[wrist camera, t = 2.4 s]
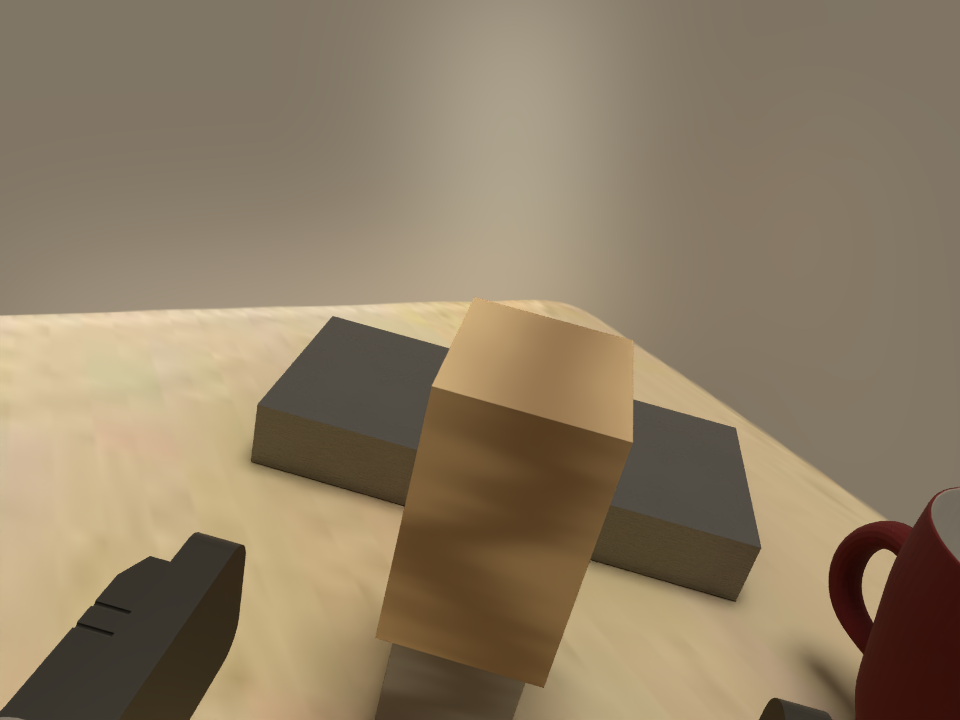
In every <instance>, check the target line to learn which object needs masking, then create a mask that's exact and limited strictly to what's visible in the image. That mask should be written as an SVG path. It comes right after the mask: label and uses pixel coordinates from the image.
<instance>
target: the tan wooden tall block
mask: <svg viewBox="0 0 960 720" xmlns="http://www.w3.org/2000/svg"><path fill="white" fill-rule="evenodd" d="M633 355H634V341H633V340H629V339H625V338H622V337H618V336H614V335H611V334H607V333H603V332H600V331H596V330H592V329H589V328H585V327H581V326H578V325H574V324H571V323H567V322H563V321H560V320H556V319H552V318H549V317H545V316H541V315H538V314H534V313H530V312H527V311H523V310H519V309H516V308H512V307H509V306H505V305H501V304H498V303H494V302H490V301H487V300H483V299H479V298H475V297H474V299H473V301H472V303H471V305H470V307H469V309H468V311H467V314H466V316H465V318H464V320H463V322H462V324H461V326H460V328H459V330H458V332H457V334H456V336H455V339H454V341H453V343H452V345H451V347H450V349H449V351H448V353H447V355H446V357H445V359H444V361H443V364H442V366H441V368H440V370H439V372H438V374H437V376H436V378H435V380H434V382H433V384H432V387H431V391H430V396H429V400H428V405H427V409H426V414H425V418H424V423H423V427H422V432H421V436H420V441H419V445H418V450H417V454H416V459H415V463H414V468H413V472H412V476H411V481H410V485H409V490H408V494H407V499H406V503H405V508H404V512H403V517H402V521H401V526H400V530H399V535H398V539H397V544H396V548H395V552H394V557H393V561H392V566H391V570H390V575H389V579H388V584H387V588H386V593H385V597H384V602H383V606H382V611H381V615H380V620H379V624H378V628H377V633H376V637H375V638H378V639H381V640H385V641H388V642H391V643H393V645H392V649H391V653H390V657H389V662H388V666H387V670H386V674H385V678H384V683H383V687H382V691H381V695H380V699H379V704H378V708H377V712H376V716H375V720H512V719H513V716H514V713H515V710H516V707H517V704H518V701H519V699H520V696H521V693H522V690H523V687H524V684H525V682H526V683H529V684H532V685H536V686H539V687H542V688H544V685H545V682H546V680H547V677H548V674H549V671H550V669H551V666H552V663H553V660H554V658H555V655H556V652H557V649H558V647H559V644H560V641H561V638H562V636H563V633H564V630H565V627H566V625H567V622H568V619H569V617H570V614H571V611H572V608H573V606H574V603H575V600H576V597H577V595H578V592H579V589H580V586H581V584H582V581H583V578H584V575H585V573H586V570H587V567H588V564H589V562H590V559H591V556H592V553H593V551H594V548H595V545H596V542H597V540H598V537H599V534H600V531H601V529H602V526H603V523H604V520H605V518H606V515H607V512H608V509H609V507H610V504H611V501H612V498H613V496H614V493H615V490H616V487H617V485H618V482H619V479H620V476H621V474H622V471H623V468H624V465H625V463H626V460H627V457H628V454H629V452H630V449H631V446H632V443H633Z"/></svg>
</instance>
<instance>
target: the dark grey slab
mask: <svg viewBox="0 0 960 720" xmlns="http://www.w3.org/2000/svg"><path fill="white" fill-rule="evenodd" d="M448 351H449V348H446V347H442V346H439V345H435V344H431V343H428V342H424V341H421V340H417V339H413V338H410V337H406V336H403V335H399V334H395V333H392V332H388V331H385V330H381V329H377V328H374V327H370V326H367V325H363V324H359V323H356V322H352V321H349V320H345V319H341V318H338V317H334V316H332V318H331V319H330V320H329V321H328V322H327V323H326V325H325V326H324V327H323V328H322V329H321V331H320V332H319V333H318V334H317V335H316V336H315V338H314V339H313V340H312V341H311V342H310V343H309V345H308V346H307V347H306V348H305V349H304V350H303V352H302V353H301V354H300V355H299V356H298V358H297V359H296V360H295V361H294V362H293V363H292V365H291V366H290V367H289V368H288V369H287V370H286V372H285V373H284V374H283V375H282V376H281V377H280V379H279V380H278V381H277V382H276V383H275V385H274V386H273V387H272V388H271V389H270V390H269V392H268V393H267V394H266V395H265V396H264V397H263V399H262V400H261V401H260V402H259V403H258V405H257V414H256V422H255V431H254V440H253V449H252V457H251V461H252V462H255V463H259V464H262V465H266V466H269V467H273V468H276V469H280V470H283V471H286V472H290V473H293V474H297V475H300V476H304V477H307V478H311V479H314V480H318V481H321V482H325V483H328V484H331V485H335V486H338V487H342V488H345V489H349V490H352V491H356V492H359V493H363V494H366V495H370V496H373V497H377V498H380V499H383V500H387V501H390V502H394V503H397V504H401V505H404V506H405V503H406V499H407V494H408V490H409V485H410V481H411V476H412V472H413V468H414V463H415V459H416V454H417V450H418V445H419V441H420V436H421V432H422V427H423V423H424V418H425V414H426V409H427V405H428V400H429V396H430V391H431V387H432V384H433V382H434V380H435V378H436V376H437V374H438V372H439V370H440V368H441V366H442V364H443V361H444V359H445V357H446V355H447V353H448ZM760 549H761V544H760V540H759V535H758V530H757V526H756V521H755V516H754V511H753V507H752V502H751V497H750V493H749V488H748V483H747V478H746V474H745V469H744V464H743V460H742V455H741V450H740V445H739V441H738V436H737V431H736V428H734V427H730V426H727V425H723V424H719V423H716V422H712V421H709V420H705V419H701V418H698V417H694V416H691V415H687V414H683V413H680V412H676V411H673V410H669V409H665V408H662V407H658V406H655V405H651V404H647V403H644V402H640V401H637V400H633V443H632V446H631V449H630V452H629V454H628V457H627V460H626V463H625V465H624V468H623V471H622V474H621V476H620V479H619V482H618V485H617V487H616V490H615V493H614V496H613V498H612V501H611V504H610V507H609V509H608V512H607V515H606V518H605V520H604V523H603V526H602V529H601V531H600V534H599V537H598V540H597V542H596V545H595V548H594V551H593V553H592V556H591V560H595V561H598V562H602V563H605V564H609V565H612V566H616V567H619V568H622V569H626V570H629V571H633V572H636V573H640V574H643V575H647V576H650V577H654V578H657V579H661V580H664V581H668V582H671V583H674V584H678V585H681V586H685V587H688V588H692V589H695V590H699V591H702V592H706V593H709V594H713V595H716V596H719V597H723V598H726V599H730V600H733V601H736V599H737V597H738V595H739V593H740V591H741V589H742V587H743V585H744V583H745V581H746V579H747V576H748V574H749V572H750V570H751V568H752V566H753V564H754V562H755V560H756V558H757V556H758V554H759V552H760Z"/></svg>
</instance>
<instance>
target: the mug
mask: <svg viewBox="0 0 960 720" xmlns="http://www.w3.org/2000/svg"><path fill="white" fill-rule="evenodd" d="M881 549H887V550H890V551H891V552H893V553H894V554H895V555H896V556H897V557H896V559H895V562H894V564H893V566H892V569H891V571H890V574H889V576H888V579H887V582H886V585H885V588H884V591H883V595H882V598H881V601H880V604H879V607H878V611H877V614H876V617H875V620H874V623H873V622H872V620H871V618H870V616H869V614H868V612H867V609H866V607H865V604H864V600H863V595H862V577H863V573H864V569H865V567H866V564H867V563H868V561H869V559H870V558H871V556H872V555H873V554H874V553H876V552H877V551H879V550H881ZM829 593H830V599H831V602H832V606H833V608H834V611H835V613H836V616H837V618H838V619H839V621H840V623H841V625H842V626H843V628H844V629H845V631H846V632H847V634H848V635H849V637H850V638H851V639H852V641H853V642H854V643H855V645H856V646H857V647H858V648H859V650H860V651H861V652H862V653H863V654H864V655H863V658H862V661H861V664H860V668H859V672H858V676H857V681H856V689H855V711H856V720H960V487H956V488H949V489H946V490H943V491H941V492H939V493H937V494H936V495H935V496H934V497H933V498H932V499H931V501H930V502H929V503H928V505H927V506H926V508H925V509H924V511H923V513H922V514H921V516H920V517H919V519H918V521H917V522H916V524H915V525H914V527H913V528H912V527H910V526H908V525H906V524H904V523H900V522H896V521H879V522H874V523H870V524H866V525H864V526H862V527H859V528H857V529H856V530H854V531H853V532H852V533H850V534H849V535H848V536H847V537H846V538H845V539H844V540H843V541H842V542H841V544H840V545H839V546H838V548H837V550H836V552H835V554H834V556H833V559H832V562H831V565H830V571H829Z"/></svg>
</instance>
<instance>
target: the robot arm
mask: <svg viewBox="0 0 960 720" xmlns="http://www.w3.org/2000/svg"><path fill="white" fill-rule="evenodd" d="M245 556H246V550H245V546H244V545H241V544H238V543H234V542H231V541H227V540H224V539H220V538H217V537H213V536H209V535H206V534H202V533H199V532H196V533H194V534H193V535H192V536H191V537H190V538H189V539H188V540H187V541H186V543H185V544H184V545H183V546H182V548H181V549H180V550H179V552H178V553H177V554H176V555H175V557H174V558H173V559H172V560H171V562H169V561H166V560H162V559H159V558H155V557H152V556H149V557H148V558H146V559H144V560H142V561H141V562H139V563H137V564H135V565H134V566H132V567H130V568H128V569H127V570H125V571H123V572H122V573H120V574H118V575H117V576H116V577H115V578H114V580H113V581H112V582H111V583H110V584H109V585H108V587H107V588H106V589H105V590H104V591H103V592H102V594H101V595H100V596H99V597H98V598H97V599H96V601H95V604H94V606H90V608H89V609H88V610H87V611H86V612H85V613H84V615H83V616H82V617H81V618H80V619H79V620H78V622H77V625H76V627H75V628H72V629H71V630H70V631H69V632H68V633H67V634H66V636H65V637H64V638H63V639H62V640H61V641H60V643H59V644H58V645H57V646H56V647H55V648H54V650H53V651H52V652H51V653H50V654H49V655H48V657H47V658H46V659H45V660H44V661H43V662H42V664H41V665H40V666H39V667H38V668H37V670H36V671H35V672H34V673H33V674H32V675H31V677H30V678H29V679H28V680H27V681H26V682H25V684H24V685H23V686H22V687H21V688H20V689H19V691H18V692H17V693H16V694H15V695H14V696H13V698H12V699H11V700H10V701H9V702H8V703H7V705H6V706H5V707H4V708H3V709H2V710H1V711H0V720H190V718H191V716H192V715H193V713H194V711H195V710H196V708H197V706H198V705H199V703H200V701H201V700H202V698H203V696H204V695H205V693H206V691H207V689H208V688H209V686H210V684H211V683H212V681H213V679H214V678H215V676H216V674H217V673H218V671H219V669H220V668H221V666H222V664H223V662H224V661H225V659H226V657H227V655H228V652H229V650H230V648H231V645H232V642H233V640H234V637H235V633H236V630H237V626H238V620H239V612H240V603H241V594H242V584H243V575H244V566H245ZM759 720H832V719H831V717H830V715H829V714H828V713H826V712H824V711H821V710H817V709H814V708H810V707H807V706H803V705H800V704H796V703H793V702H789V701H785V700H782V699H778V698H773V699H771V700H770V701H769V702H768V704H767V705H766V707H765V709H764V711H763V713H762V715H761V717H760V719H759Z"/></svg>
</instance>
